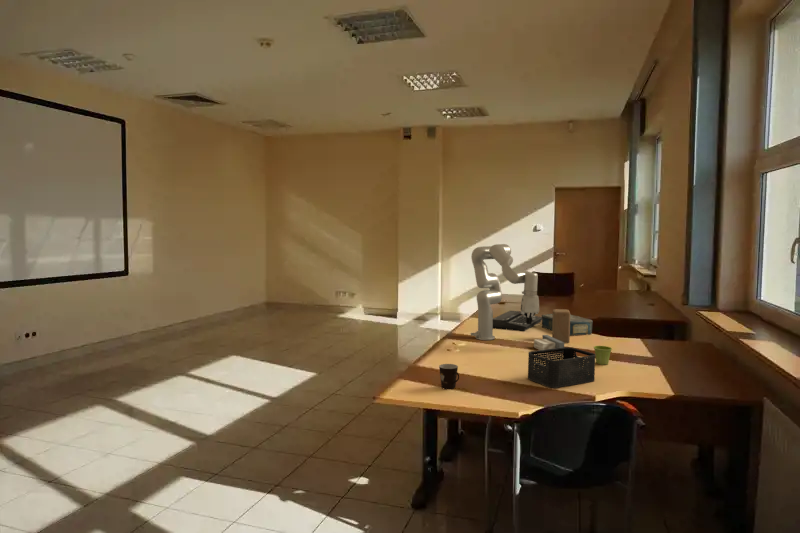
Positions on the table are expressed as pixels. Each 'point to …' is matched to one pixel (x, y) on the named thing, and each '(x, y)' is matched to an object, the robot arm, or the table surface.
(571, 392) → the table surface
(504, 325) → the vintage computer
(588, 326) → the metal box
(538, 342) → the off-white block
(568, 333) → the wooden block
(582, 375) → the storage bin
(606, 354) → the plant pot
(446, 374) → the coffee mug
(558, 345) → the curved slate gray block
